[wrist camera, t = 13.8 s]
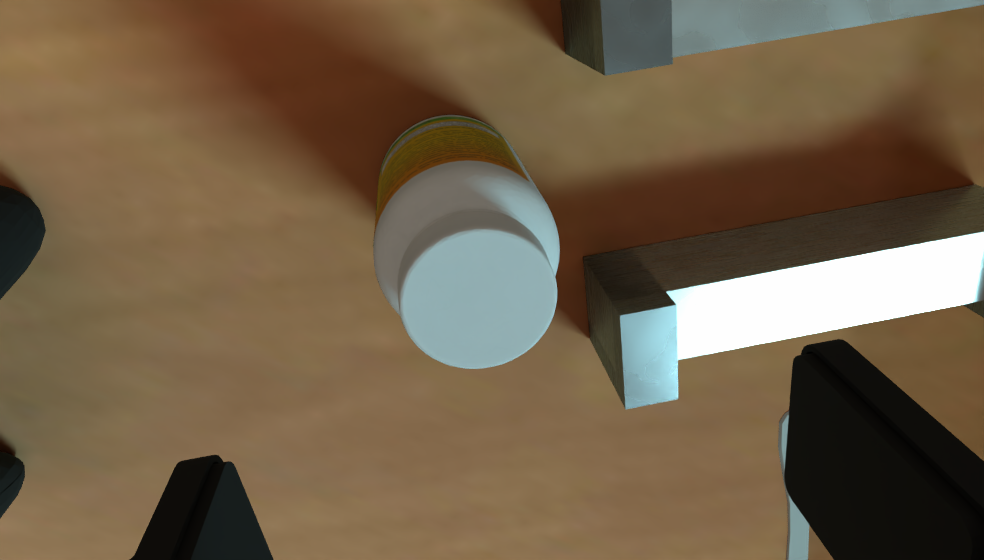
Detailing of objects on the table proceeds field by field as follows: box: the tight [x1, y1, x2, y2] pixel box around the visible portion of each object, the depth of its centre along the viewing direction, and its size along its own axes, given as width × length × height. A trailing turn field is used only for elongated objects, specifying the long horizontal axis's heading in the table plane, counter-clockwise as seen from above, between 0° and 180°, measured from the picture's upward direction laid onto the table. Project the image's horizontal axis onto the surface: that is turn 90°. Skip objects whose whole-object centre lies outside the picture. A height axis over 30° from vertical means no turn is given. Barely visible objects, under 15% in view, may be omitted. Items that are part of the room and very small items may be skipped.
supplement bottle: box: [373, 115, 560, 369], centre depth 21 cm, size 5×5×10 cm
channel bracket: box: [561, 0, 984, 409], centre depth 23 cm, size 17×16×5 cm
